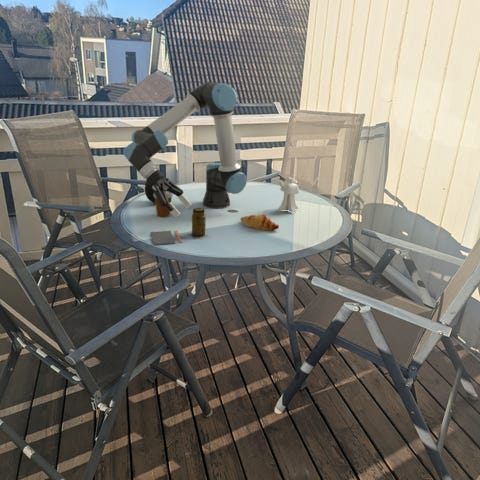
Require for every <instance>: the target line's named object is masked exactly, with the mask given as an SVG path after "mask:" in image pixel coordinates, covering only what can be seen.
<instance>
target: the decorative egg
mask: <svg viewBox="0 0 480 480" xmlns="http://www.w3.org/2000/svg"><path fill="white" fill-rule="evenodd" d="M153 186H154V185H153ZM153 186H150V185H149V183H148V182H147V181H146V182H145V185H144V194H145V196H146V198H147V199H148V201H149V202H150V203H153V204H155V198H154V196H153V194H154V191H153V190H152V189H151V188H152V187H153Z"/></svg>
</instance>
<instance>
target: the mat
mask: <svg viewBox="0 0 480 480" xmlns="http://www.w3.org/2000/svg"><path fill="white" fill-rule="evenodd" d="M150 236H151V238H152V239H151V241H152V242H153V245H154V246H163V245H173V244H174V245H175V244H176V241H175V237H174V235H173V234H172V231H171V230H163V231H162V230H161V231H159V230H158V231H151V232H150Z"/></svg>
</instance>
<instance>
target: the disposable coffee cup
mask: <svg viewBox="0 0 480 480" xmlns="http://www.w3.org/2000/svg"><path fill="white" fill-rule="evenodd" d="M166 195H167V198H168V201H169V203H170V202H171V203H172V199H173V195H174V194H172V193H171V192H169V191H166ZM153 196H154V198H155V203H154V204H155V209H156V215H157V217H160V218H167V217H170V215H171V212H170V211H169V209H168V208H167V207H166V206H165V207H163V206H161V205H160V203H159V201H158V199H157V197H156V195H155V193H154V194H153Z"/></svg>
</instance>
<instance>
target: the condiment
mask: <svg viewBox="0 0 480 480" xmlns="http://www.w3.org/2000/svg"><path fill="white" fill-rule="evenodd" d="M205 210H206V209H205V208H202V207H194V208H193V209H192V215H191V231H189V232H188V233H189V235H190V236H191V237H192V238H194V239H204V238H209V237H210V235H209V234H208V233H206V221H207V220H206V214H205V213H206V212H205Z"/></svg>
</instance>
